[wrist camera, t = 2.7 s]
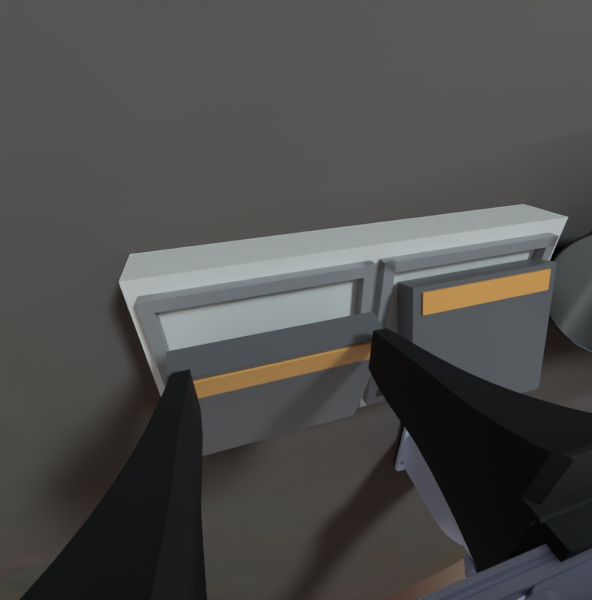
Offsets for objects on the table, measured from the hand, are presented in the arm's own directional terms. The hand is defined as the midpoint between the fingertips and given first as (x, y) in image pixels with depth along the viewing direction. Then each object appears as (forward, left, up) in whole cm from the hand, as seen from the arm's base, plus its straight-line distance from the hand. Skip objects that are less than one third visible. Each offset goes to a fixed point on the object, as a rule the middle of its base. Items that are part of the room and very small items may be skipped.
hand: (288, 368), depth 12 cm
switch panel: (-3, -6, -7) cm, 10 cm away
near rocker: (-3, 0, -3) cm, 4 cm away
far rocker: (-3, -12, -3) cm, 12 cm away
